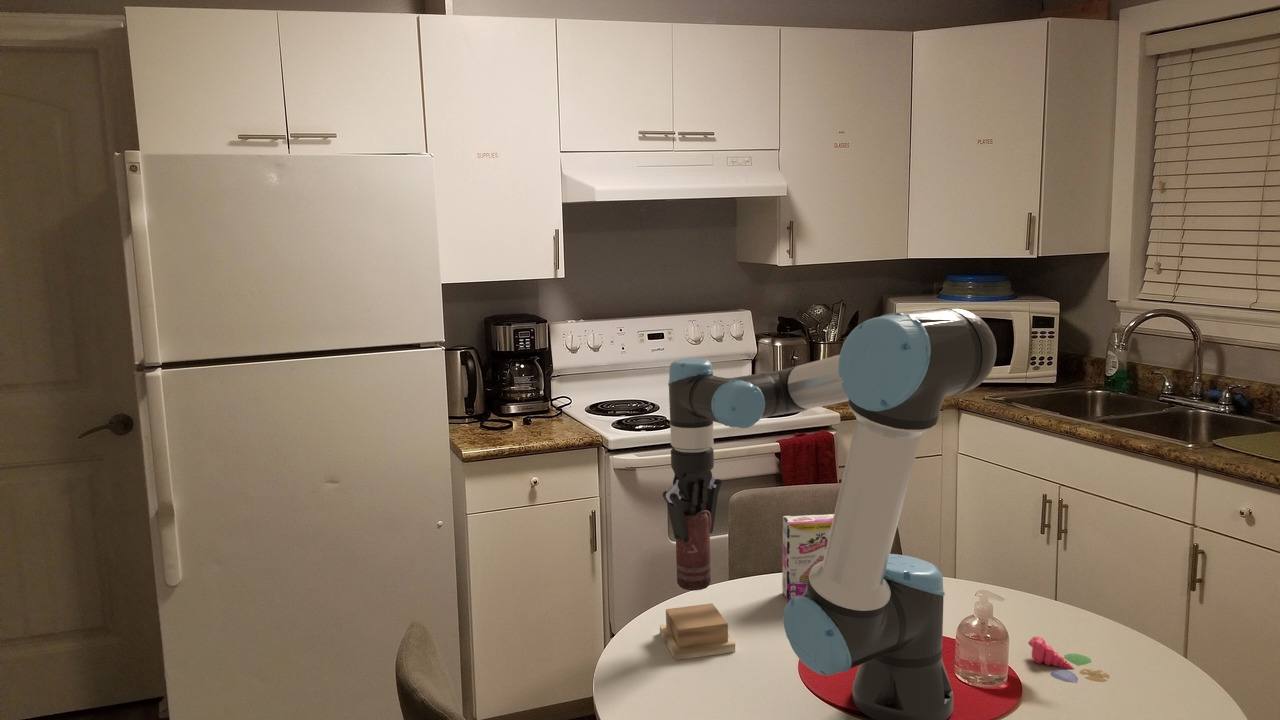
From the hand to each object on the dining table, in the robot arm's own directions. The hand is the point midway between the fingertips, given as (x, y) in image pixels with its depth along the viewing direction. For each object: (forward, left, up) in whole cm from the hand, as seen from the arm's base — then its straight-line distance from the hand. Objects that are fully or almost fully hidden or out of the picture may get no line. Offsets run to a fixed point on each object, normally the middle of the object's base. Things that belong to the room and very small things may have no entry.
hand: (694, 574), depth 164 cm
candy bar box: (+13, -28, -13) cm, 33 cm away
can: (0, 0, -2) cm, 2 cm away
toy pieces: (-27, -57, -13) cm, 64 cm away
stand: (0, 0, -13) cm, 13 cm away
